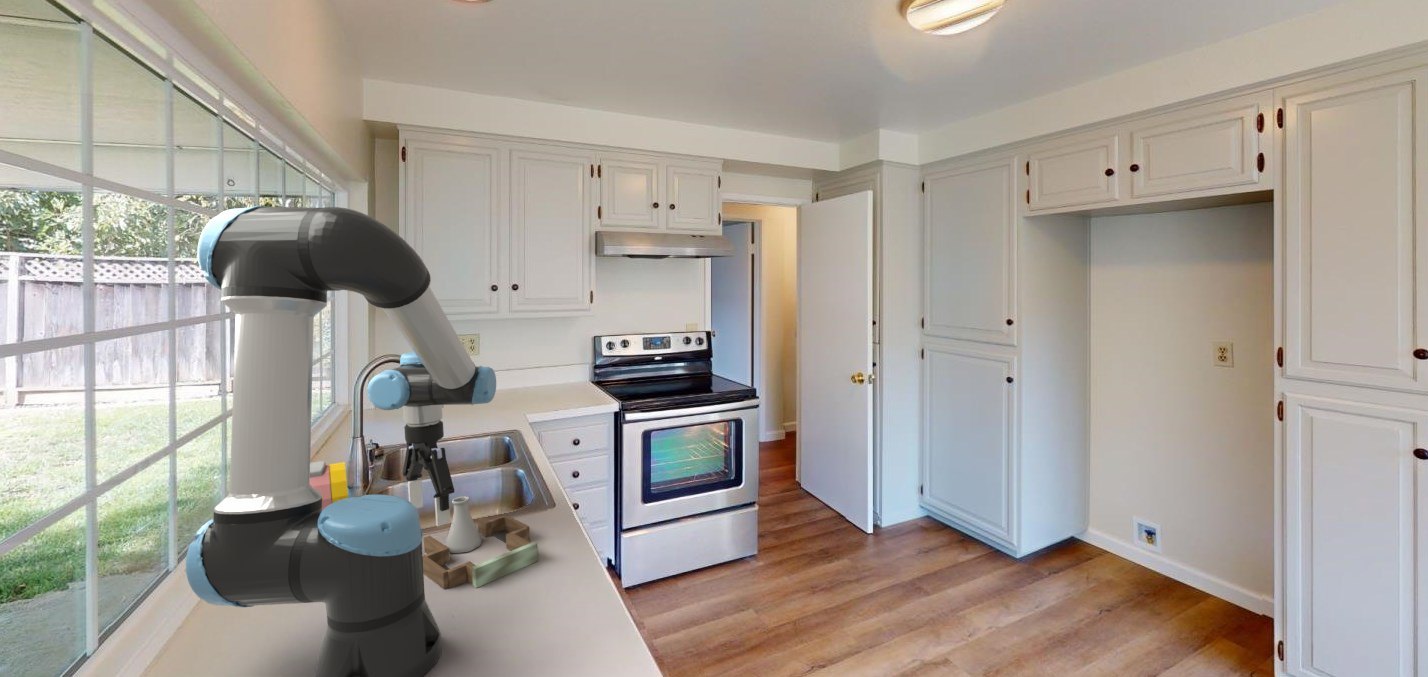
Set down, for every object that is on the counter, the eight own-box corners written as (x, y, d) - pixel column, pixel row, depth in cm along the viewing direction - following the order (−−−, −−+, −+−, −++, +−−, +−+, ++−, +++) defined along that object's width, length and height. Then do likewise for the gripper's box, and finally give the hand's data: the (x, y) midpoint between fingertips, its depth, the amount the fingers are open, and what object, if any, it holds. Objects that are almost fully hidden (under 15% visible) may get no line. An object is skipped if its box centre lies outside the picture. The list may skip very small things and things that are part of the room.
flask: (488, 538, 117) (486, 492, 116) (470, 555, 110) (468, 506, 109) (456, 537, 118) (453, 491, 117) (436, 554, 110) (433, 505, 109)
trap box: (454, 597, 95) (453, 578, 94) (404, 559, 108) (403, 542, 108) (555, 553, 110) (554, 536, 110) (499, 524, 124) (499, 509, 123)
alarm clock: (302, 542, 116) (295, 457, 114) (349, 532, 120) (343, 450, 119) (300, 572, 103) (292, 477, 102) (352, 559, 108) (346, 468, 106)
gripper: (468, 427, 116) (473, 525, 118) (417, 411, 132) (422, 497, 134) (431, 435, 110) (437, 537, 112) (382, 417, 126) (389, 506, 128)
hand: (429, 515), depth 123 cm, fingers open, 13 cm apart
